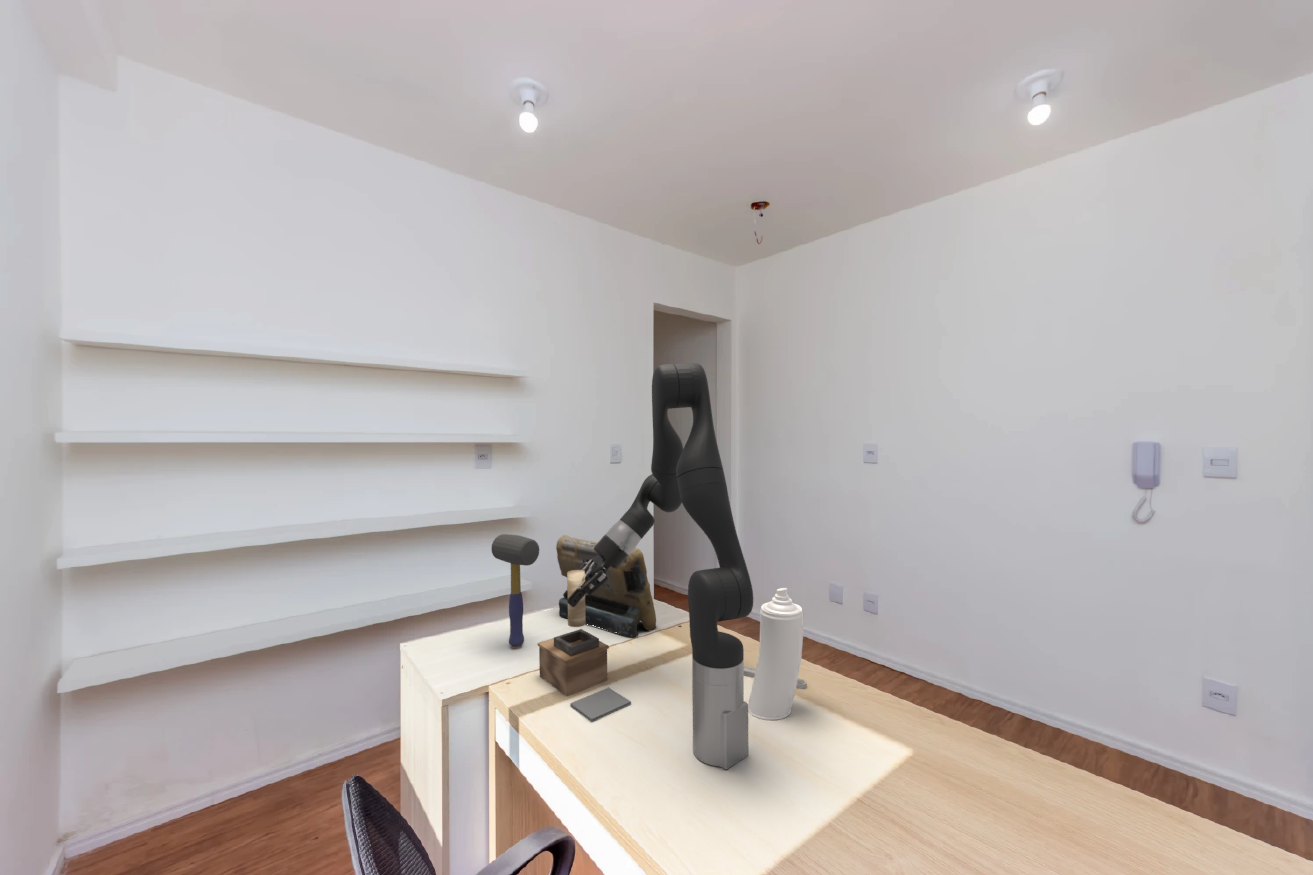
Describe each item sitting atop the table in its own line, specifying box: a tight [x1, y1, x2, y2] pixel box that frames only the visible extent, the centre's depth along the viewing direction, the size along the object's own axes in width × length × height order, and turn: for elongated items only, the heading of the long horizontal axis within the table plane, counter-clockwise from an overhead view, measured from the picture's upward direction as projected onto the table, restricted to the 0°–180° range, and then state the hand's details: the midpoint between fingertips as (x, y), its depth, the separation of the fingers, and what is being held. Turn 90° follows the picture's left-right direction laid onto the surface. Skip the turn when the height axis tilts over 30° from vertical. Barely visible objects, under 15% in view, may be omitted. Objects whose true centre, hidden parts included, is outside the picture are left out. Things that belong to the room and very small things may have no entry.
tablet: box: [555, 534, 657, 638], centre depth 158 cm, size 33×14×25 cm, turn 59°
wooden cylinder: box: [566, 570, 586, 628], centre depth 121 cm, size 4×4×12 cm
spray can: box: [747, 587, 805, 721], centre depth 110 cm, size 12×11×25 cm
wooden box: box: [537, 628, 610, 697], centre depth 123 cm, size 13×12×10 cm
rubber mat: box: [569, 686, 632, 723], centre depth 111 cm, size 8×10×1 cm
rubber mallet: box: [491, 533, 540, 649], centre depth 140 cm, size 12×8×30 cm, turn 54°
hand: (568, 601), depth 121 cm, fingers closed on wooden cylinder, 4 cm apart
